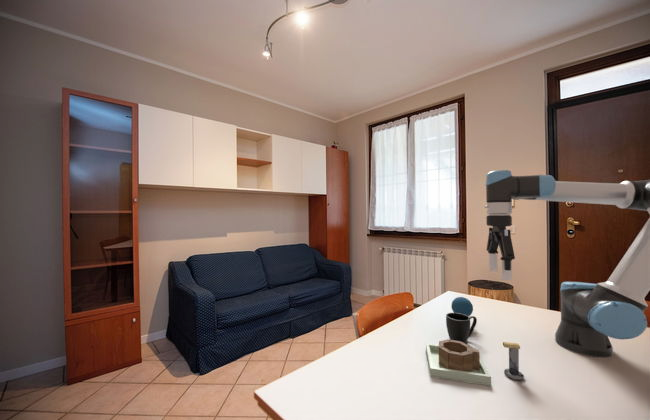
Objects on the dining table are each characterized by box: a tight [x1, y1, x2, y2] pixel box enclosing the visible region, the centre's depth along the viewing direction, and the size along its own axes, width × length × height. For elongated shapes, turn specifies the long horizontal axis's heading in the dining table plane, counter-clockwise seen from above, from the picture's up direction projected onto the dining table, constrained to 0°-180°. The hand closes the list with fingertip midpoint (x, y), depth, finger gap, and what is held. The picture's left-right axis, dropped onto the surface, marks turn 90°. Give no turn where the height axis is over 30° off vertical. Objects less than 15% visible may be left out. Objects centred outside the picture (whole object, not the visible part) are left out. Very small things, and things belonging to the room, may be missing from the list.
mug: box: [445, 312, 478, 344], centre depth 103 cm, size 8×12×10 cm
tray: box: [425, 343, 492, 387], centre depth 86 cm, size 16×16×2 cm
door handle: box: [502, 341, 525, 382], centre depth 81 cm, size 5×5×10 cm
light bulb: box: [451, 296, 474, 316], centre depth 118 cm, size 8×8×12 cm
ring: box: [438, 338, 481, 372], centre depth 86 cm, size 12×10×6 cm
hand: (499, 275), depth 96 cm, fingers open, 13 cm apart
